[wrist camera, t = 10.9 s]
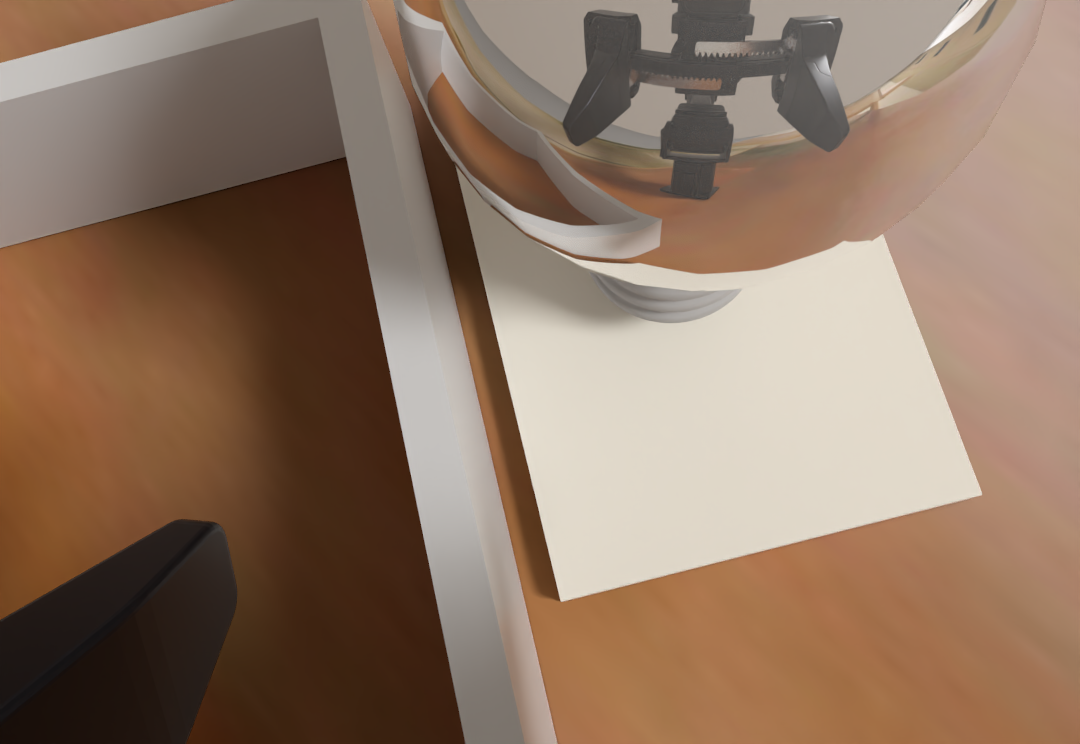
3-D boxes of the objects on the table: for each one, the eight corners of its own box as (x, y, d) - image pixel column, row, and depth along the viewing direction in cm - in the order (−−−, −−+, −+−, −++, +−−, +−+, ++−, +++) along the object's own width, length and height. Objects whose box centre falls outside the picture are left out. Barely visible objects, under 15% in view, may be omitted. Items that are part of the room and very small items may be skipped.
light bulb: (436, 218, 19) (148, -413, 7) (715, 57, 19) (858, -775, 8) (610, 501, 17) (590, 250, 5) (915, 316, 17) (1493, -278, 6)
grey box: (568, 794, 16) (550, 859, 12) (-202, 986, 16) (-495, 1118, 12) (411, 107, 20) (353, -32, 16) (-206, 270, 20) (-428, 177, 16)
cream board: (972, 498, 17) (982, 494, 16) (562, 601, 17) (560, 601, 17) (776, -18, 20) (780, -33, 20) (434, 73, 20) (430, 60, 20)
